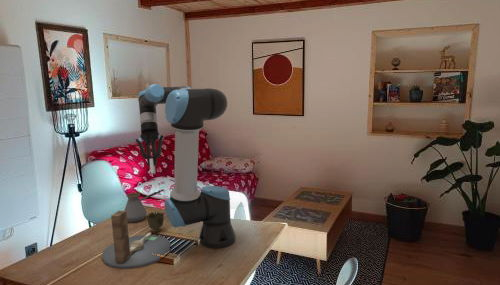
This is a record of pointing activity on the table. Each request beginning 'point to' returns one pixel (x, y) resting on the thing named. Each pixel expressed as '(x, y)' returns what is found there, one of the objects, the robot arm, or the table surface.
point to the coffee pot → (136, 207)
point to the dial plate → (139, 252)
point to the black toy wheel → (155, 221)
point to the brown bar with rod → (123, 237)
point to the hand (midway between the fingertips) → (153, 173)
